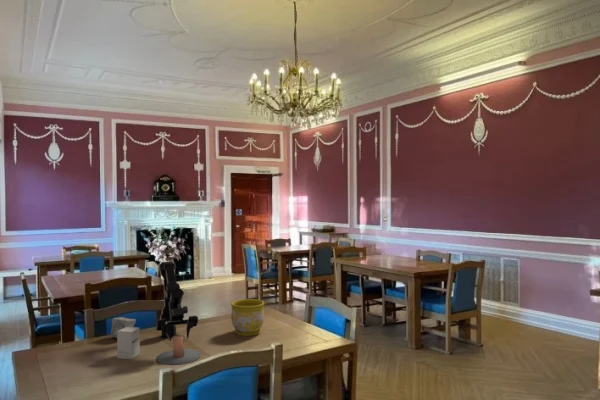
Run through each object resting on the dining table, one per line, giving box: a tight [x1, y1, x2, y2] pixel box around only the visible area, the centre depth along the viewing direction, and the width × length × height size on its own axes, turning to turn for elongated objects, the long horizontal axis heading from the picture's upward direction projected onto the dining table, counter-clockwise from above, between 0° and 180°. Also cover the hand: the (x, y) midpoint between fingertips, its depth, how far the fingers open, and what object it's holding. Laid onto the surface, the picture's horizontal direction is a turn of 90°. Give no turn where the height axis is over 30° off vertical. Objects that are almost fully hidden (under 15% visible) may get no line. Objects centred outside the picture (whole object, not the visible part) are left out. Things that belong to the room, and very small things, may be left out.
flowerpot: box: [230, 298, 265, 337], centre depth 250 cm, size 18×18×16 cm
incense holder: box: [110, 316, 137, 339], centre depth 241 cm, size 10×8×10 cm
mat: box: [156, 348, 202, 366], centre depth 212 cm, size 20×20×1 cm
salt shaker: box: [172, 334, 185, 358], centre depth 212 cm, size 5×5×9 cm
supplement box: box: [116, 326, 141, 360], centre depth 213 cm, size 7×7×13 cm
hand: (179, 339), depth 211 cm, fingers open, 7 cm apart
